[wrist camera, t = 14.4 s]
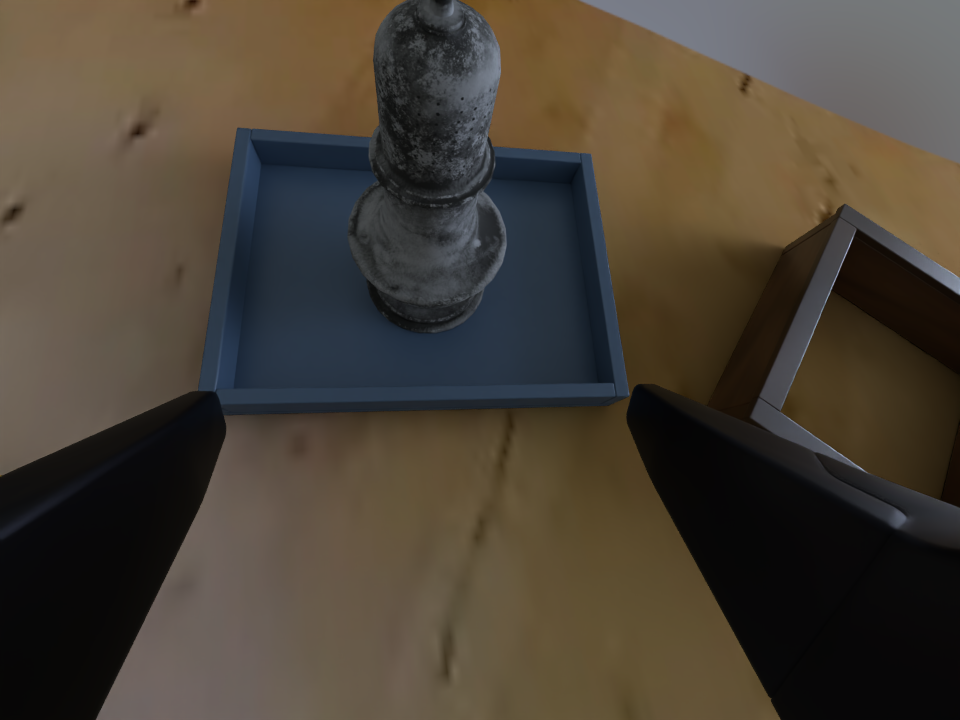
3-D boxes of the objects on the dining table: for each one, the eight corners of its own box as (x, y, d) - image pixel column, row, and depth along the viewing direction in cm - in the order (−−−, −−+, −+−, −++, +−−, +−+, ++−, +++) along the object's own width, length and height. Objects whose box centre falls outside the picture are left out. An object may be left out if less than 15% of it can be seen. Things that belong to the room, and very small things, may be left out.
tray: (576, 181, 22) (591, 153, 21) (608, 406, 19) (630, 396, 17) (253, 161, 20) (236, 126, 18) (219, 415, 16) (194, 405, 15)
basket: (936, 602, 18) (1050, 627, 15) (691, 430, 19) (749, 417, 16) (986, 378, 23) (1084, 359, 19) (784, 244, 23) (845, 203, 20)
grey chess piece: (332, 264, 18) (201, -99, 7) (438, 202, 20) (467, -168, 9) (413, 366, 18) (409, 138, 6) (516, 292, 19) (659, 11, 8)
